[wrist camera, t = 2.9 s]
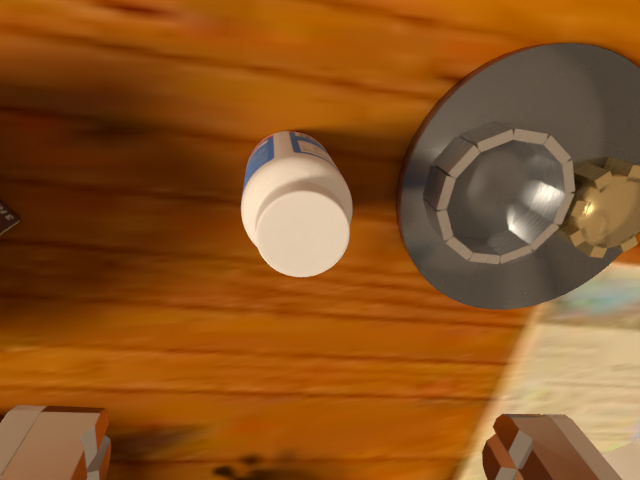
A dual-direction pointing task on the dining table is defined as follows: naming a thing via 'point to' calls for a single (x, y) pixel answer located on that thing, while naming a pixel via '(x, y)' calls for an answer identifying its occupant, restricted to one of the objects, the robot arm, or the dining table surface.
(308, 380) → the dining table surface
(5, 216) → the protein box
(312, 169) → the pill bottle
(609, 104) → the carrier plate
